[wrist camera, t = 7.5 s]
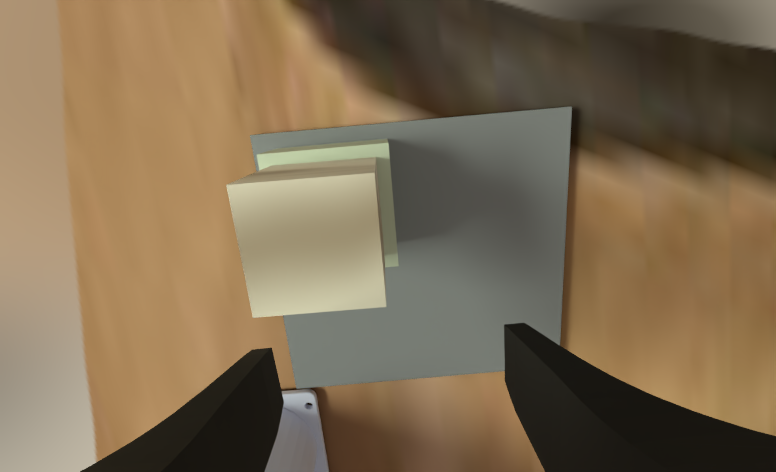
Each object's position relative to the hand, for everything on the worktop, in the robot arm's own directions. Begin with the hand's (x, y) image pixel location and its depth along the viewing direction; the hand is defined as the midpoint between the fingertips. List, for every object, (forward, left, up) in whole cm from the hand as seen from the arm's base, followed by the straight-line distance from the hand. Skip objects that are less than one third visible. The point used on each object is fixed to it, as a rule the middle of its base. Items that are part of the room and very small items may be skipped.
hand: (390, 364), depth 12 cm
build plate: (-1, -2, -10) cm, 10 cm away
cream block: (+4, +2, -6) cm, 7 cm away
